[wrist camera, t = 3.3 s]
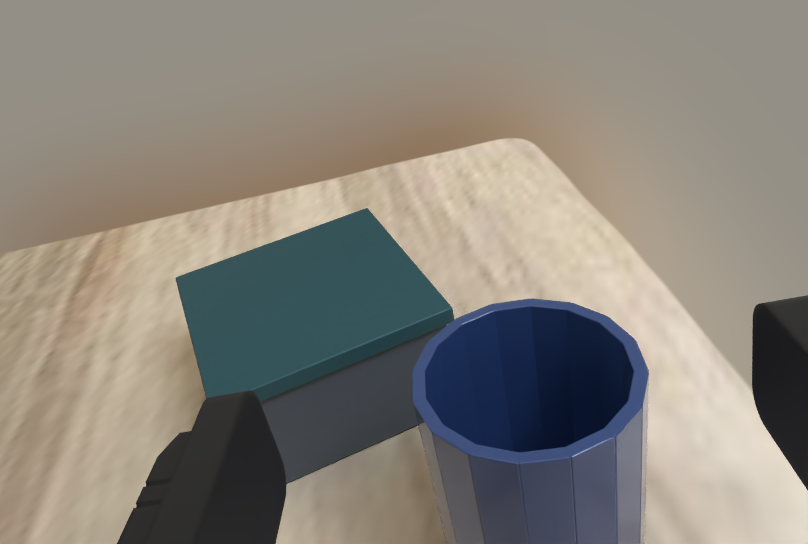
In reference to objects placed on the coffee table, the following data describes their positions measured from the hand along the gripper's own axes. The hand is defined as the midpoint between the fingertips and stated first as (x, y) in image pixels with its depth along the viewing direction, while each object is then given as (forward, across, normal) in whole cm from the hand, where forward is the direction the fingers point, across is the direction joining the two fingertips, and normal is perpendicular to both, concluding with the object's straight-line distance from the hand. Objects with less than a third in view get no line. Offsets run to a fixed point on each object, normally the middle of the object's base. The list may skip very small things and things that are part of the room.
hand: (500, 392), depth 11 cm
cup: (+9, 0, +15) cm, 17 cm away
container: (+20, +9, +13) cm, 26 cm away
